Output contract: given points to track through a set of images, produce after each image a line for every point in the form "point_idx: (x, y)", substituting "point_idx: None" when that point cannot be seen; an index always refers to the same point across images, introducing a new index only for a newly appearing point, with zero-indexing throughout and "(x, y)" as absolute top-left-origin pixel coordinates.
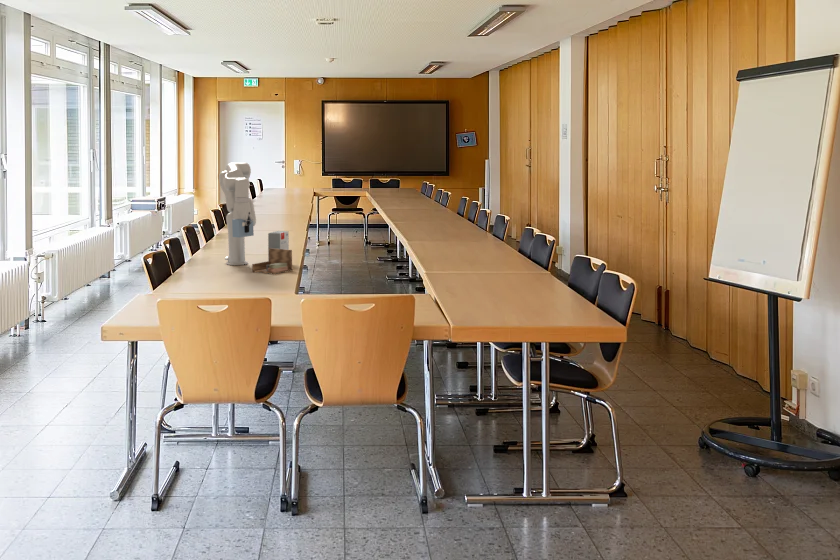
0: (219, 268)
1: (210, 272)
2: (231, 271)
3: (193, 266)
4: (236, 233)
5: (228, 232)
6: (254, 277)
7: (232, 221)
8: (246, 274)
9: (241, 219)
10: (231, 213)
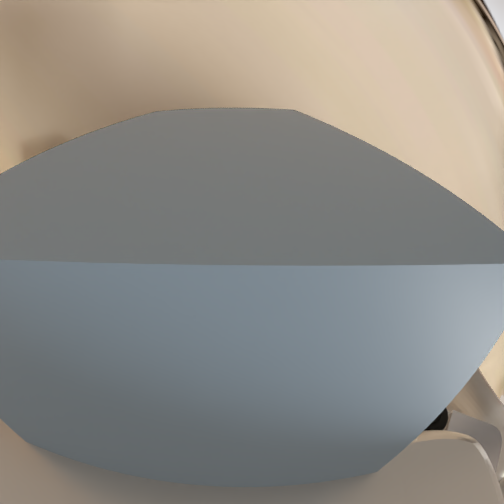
0: (393, 150)
1: (348, 20)
2: (273, 91)
3: (498, 159)
4: (203, 111)
5: (478, 369)
6: (50, 39)
7: (431, 185)
8: (130, 63)
9: (23, 431)
10: (501, 474)
